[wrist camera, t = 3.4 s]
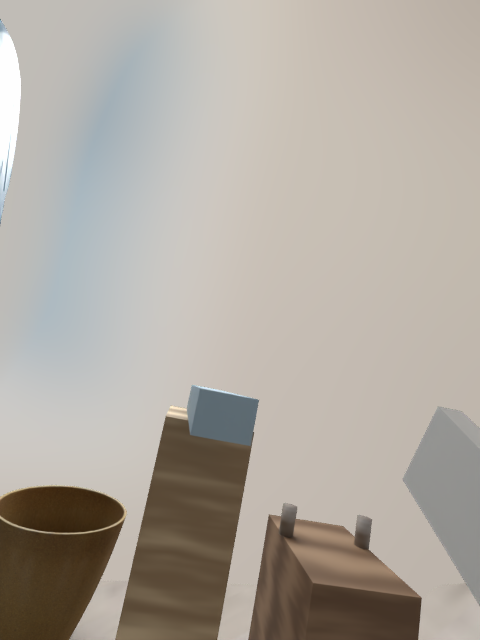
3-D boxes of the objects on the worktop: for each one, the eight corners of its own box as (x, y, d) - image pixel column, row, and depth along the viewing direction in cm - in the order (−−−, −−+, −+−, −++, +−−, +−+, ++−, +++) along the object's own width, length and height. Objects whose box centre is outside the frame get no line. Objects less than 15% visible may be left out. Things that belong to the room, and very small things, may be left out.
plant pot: (-62, 632, 42) (-17, 486, 45) (69, 602, 52) (99, 483, 55) (-49, 741, 31) (9, 538, 34) (114, 676, 41) (148, 523, 44)
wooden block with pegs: (401, 871, 28) (427, 560, 32) (270, 865, 27) (314, 543, 31) (323, 696, 44) (348, 502, 48) (238, 687, 42) (270, 489, 47)
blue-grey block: (250, 446, 24) (258, 399, 24) (190, 435, 23) (200, 388, 24) (218, 415, 45) (223, 390, 46) (186, 409, 45) (192, 384, 45)
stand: (180, 844, 27) (254, 432, 33) (70, 839, 26) (165, 416, 32) (181, 689, 41) (233, 417, 46) (108, 682, 40) (171, 405, 45)
